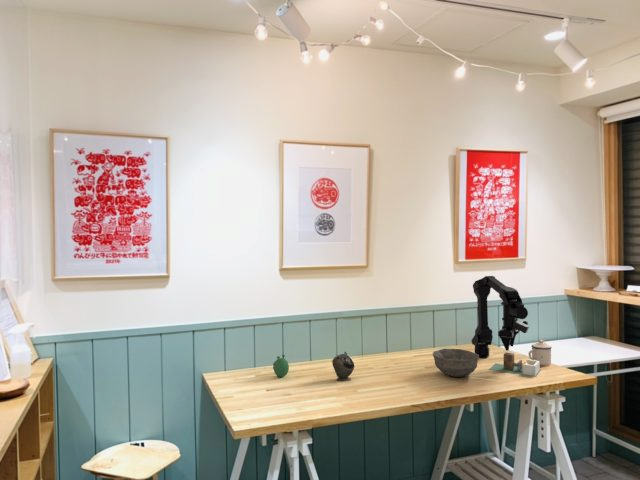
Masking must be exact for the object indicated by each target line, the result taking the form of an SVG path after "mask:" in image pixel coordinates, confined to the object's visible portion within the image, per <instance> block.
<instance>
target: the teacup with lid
mask: <svg viewBox="0 0 640 480" xmlns="http://www.w3.org/2000/svg"><path fill="white" fill-rule="evenodd" d="M528 358H529V360H536V361H540V366H549V365H551V364H552V345H550V344H549V343H546V342H544V339H543V340H542V339H540V340H539V341H537V342H535V343H532V344H531V350H529V351H528Z"/></svg>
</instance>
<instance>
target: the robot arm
mask: <svg viewBox="0 0 640 480" xmlns="http://www.w3.org/2000/svg"><path fill="white" fill-rule="evenodd" d="M472 289H473V293H474V295H475V296H476V299H477V327H476V328H475V331H474V336H473V337H472V338H471V344H472V345H473V346H474V353H476V354H477V355H479V358H482V359H487V358H488V357H489V356H490V347H489V346H491V345H492V344H493V343H492V341H493V337H494V336H493V329H491V328H490V327H489V317H488V316H489V315H488V314H489V313H488V312H489V311H488V297H489V296H490V293H491V289H493V291H495V292H496V293H498V296H499V299H501V300H502V301H501V302H500V305H501V306H502V318H501V321H502V326H501V329H500V330H499V331H498V332H497V336H498V337H499V339H500V341H501V343H502V345H503V347H504V349H505V351H507V352H508V351H509V350H510V347H514V344H515V340H516V337H517V335H518V334H519V333H520V332H522V333H523V334H526V333H528V331H529V328H530V325H529V324H528V323H529V322H528V321H527V320H525V319H526V318H527V317H528V315H529V311H528V308H526V307H525V304H524V303H523V300H522V298H521V296H520V292H519V291H518V290H517V289H516V288H514V287H511V286H507V285H505V284H504V283H502V282H501V281H500V280H499V279H497V278H496V276H493V275H485V276H484V277H482V278H480V279H477V280H475V281H474V282H473V284H472ZM518 319H520V320H523V321H519V320H518Z"/></svg>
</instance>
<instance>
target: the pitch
mask: <svg viewBox="0 0 640 480" xmlns="http://www.w3.org/2000/svg"><path fill="white" fill-rule="evenodd" d="M488 371H491V372H499V373H500V372H501V373H508V374H514V375H520V376H526V377H527V376H528V377H537V376H538V375H539V374H540V372H541V371H542V369H540V370H539V372H538V373H537V374H536V376H534V375H527V374H523V370H522V369H521V370H520V371H519V372H517V366H514V369H513V370H508V369H504V363H497V362H496V363H494V364H493V365H492V366H491V367H490V368H489V369H488Z"/></svg>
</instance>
